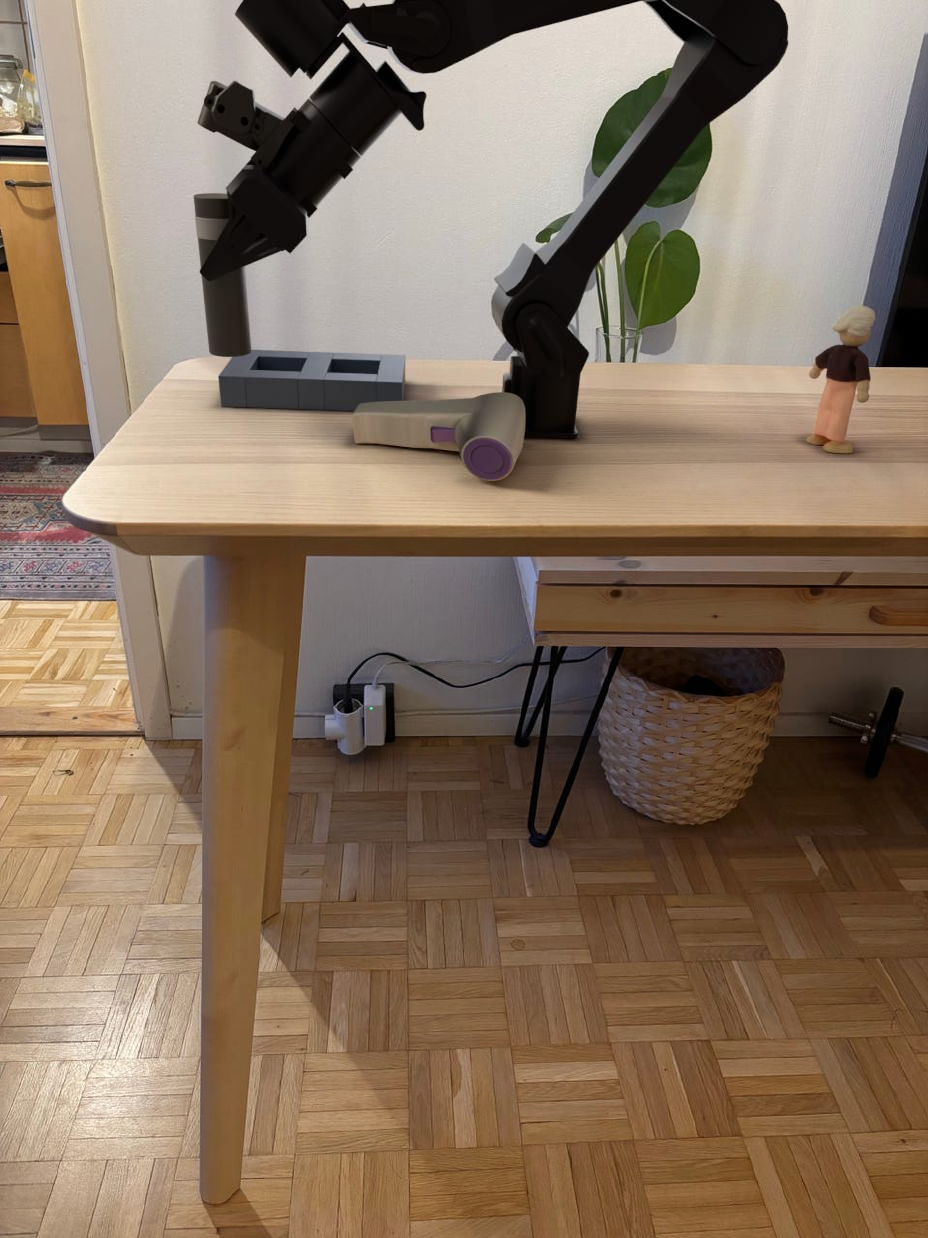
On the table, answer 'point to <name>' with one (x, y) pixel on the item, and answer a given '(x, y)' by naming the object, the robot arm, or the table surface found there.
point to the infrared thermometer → (451, 429)
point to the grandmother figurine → (842, 379)
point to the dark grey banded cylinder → (221, 283)
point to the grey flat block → (311, 380)
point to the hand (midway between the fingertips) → (206, 272)
